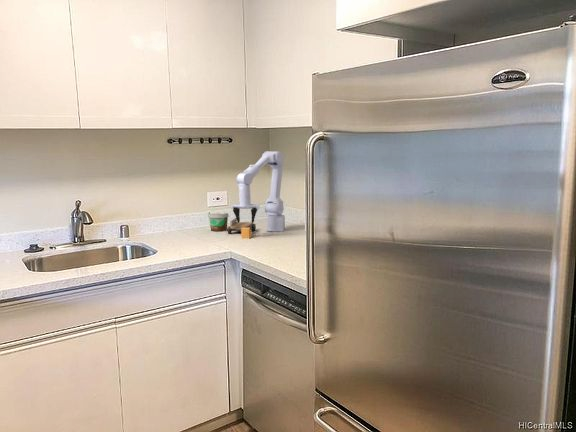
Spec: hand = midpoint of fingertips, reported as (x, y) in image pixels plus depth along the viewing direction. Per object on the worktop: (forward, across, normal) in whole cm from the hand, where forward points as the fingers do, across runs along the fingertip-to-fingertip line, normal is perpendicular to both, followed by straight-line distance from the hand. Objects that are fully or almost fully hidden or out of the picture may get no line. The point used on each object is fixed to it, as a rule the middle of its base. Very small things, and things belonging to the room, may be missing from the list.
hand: (245, 222), depth 240 cm
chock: (+8, 0, +2) cm, 8 cm away
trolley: (+8, -6, +13) cm, 16 cm away
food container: (+8, -21, +15) cm, 27 cm away
